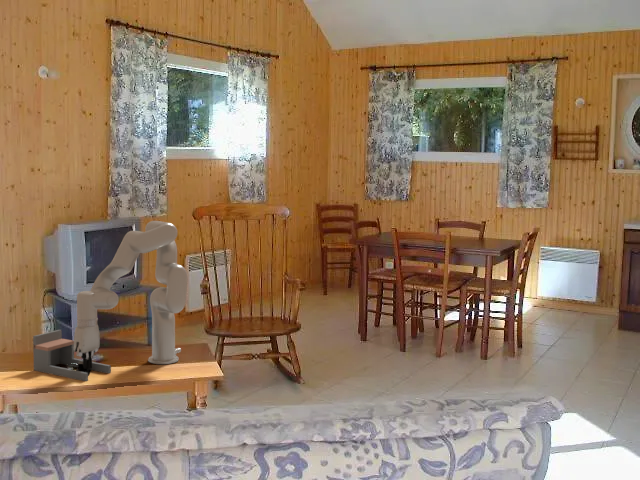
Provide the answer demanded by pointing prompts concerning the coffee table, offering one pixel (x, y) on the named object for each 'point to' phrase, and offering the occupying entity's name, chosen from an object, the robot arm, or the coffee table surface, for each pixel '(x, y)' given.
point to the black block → (80, 368)
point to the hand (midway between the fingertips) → (87, 368)
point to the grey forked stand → (59, 356)
